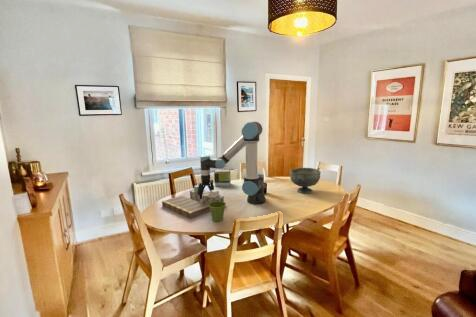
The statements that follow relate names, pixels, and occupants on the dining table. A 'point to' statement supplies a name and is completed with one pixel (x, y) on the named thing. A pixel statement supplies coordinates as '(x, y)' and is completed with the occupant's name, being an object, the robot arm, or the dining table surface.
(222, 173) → the tea box
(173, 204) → the grey flat block
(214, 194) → the cargo crate
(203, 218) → the dining table surface
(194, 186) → the cargo crate
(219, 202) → the plant pot
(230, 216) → the dining table surface
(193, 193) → the grey lumpy bar
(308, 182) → the decorative bowl
